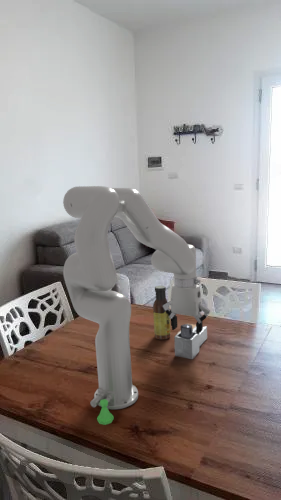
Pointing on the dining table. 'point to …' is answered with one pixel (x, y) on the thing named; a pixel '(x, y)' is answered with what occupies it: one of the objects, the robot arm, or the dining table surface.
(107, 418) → the game piece
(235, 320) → the dining table surface
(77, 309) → the robot arm
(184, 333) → the pin
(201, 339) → the leaf loose
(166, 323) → the sauce bottle
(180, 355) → the hinge base
